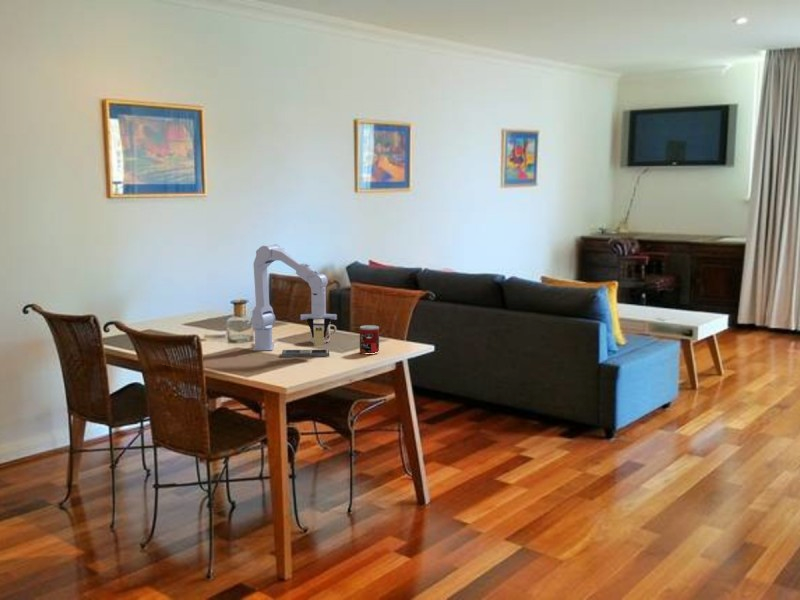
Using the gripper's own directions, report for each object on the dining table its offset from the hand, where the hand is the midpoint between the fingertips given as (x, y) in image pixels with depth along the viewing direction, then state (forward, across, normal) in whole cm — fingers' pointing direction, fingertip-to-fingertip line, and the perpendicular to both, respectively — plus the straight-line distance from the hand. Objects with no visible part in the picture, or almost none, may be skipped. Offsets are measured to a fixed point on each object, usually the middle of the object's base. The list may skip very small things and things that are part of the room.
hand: (318, 337), depth 319 cm
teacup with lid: (+8, +2, +28) cm, 29 cm away
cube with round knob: (+3, 0, 0) cm, 3 cm away
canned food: (+8, +21, +3) cm, 22 cm away
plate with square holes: (+7, -5, 0) cm, 9 cm away
